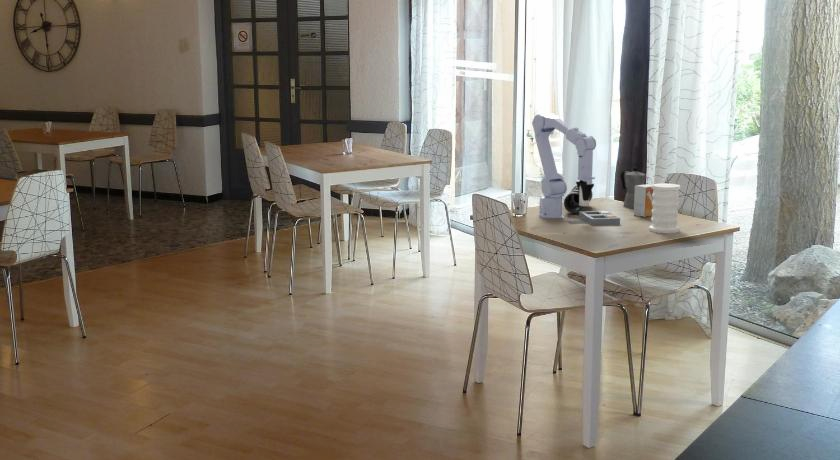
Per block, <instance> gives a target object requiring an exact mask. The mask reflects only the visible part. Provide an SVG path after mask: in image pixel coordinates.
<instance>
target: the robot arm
mask: <svg viewBox="0 0 840 460" xmlns="http://www.w3.org/2000/svg"><path fill="white" fill-rule="evenodd" d="M531 124H532V127H533V132H534V138H535V143H536V147H537V149H538V150H537V151H538V154H539V159H540V162H541V166H542V170H543V174H544V176H543V177H542V179H541V180H540V182H541V183H540V184H541V193H542V195H543V196H541V197H540V198H539V206H538V208H539V209H538V210H539V212H538V213H539V214H538V216H539V217H541V218H542V219H561V218H563V219H564V218H566V217H565V216H564V215H563V197H565V194H566V193H567V191H568V187H567V186H568V185H567V183H566V181H565V180H564V176H563V175H562V174H560V173H558V170H557V166H556V163H555V158H554V155H553V150H552V147H551V143H550V138H549V137H550V135H551V134H553V132H554V131H555V130H557V131H558V132H561V133H562V134H564V135H565V139H566V140H568V142H570V143H571V144H573V146H575V148H576V152H577V154H576V155H577V156H578V158H577V159H578V160H577V161H578V163H577V164H578V165H577V181H575V184H576V186H578V190H579V195H580V186H581V189H582V196H583V200H584V201H589V197H590V193H591V190H592V191H593V188H594V186H595V183H593V180H595V179H596V177H595V176H593V159H594V158H593V157H594V155H593V154H594V150H595V149H596V147H597V142H596V139H595V138H594V137H593V135H589V136H588V135H587V134H586V133H583V132H582V131H580V130H579V128H578V127H571V126H569V125H568V124H567V123H565V121H564V120H562V119H561V118H560V116H559V115H557V114H556V113H553V112H552V113H546V114H545V113H544V114H542V113H541V114H538V113H537V114H535V116H534V118H533V119H532V122H531Z"/></svg>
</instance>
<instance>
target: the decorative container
mask: <svg viewBox="0 0 840 460" xmlns="http://www.w3.org/2000/svg"><path fill="white" fill-rule="evenodd" d="M651 185H652V189H653V194H652V196H653V201H652V205H653V209H652V216H651V218H650V220H651V225H649V226H648V230H650V232H652V233H656V232H657V233H656V234H675V233H676V232H677V233H678V232H680V227H679V226H677V223H678V221H679V219H678V214H679V210H678V209H679V208H678V207H679V197H680V194H679V190H681V184H677V183H664V182H663V183H653V184H651Z"/></svg>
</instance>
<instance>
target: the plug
mask: <svg viewBox="0 0 840 460" xmlns="http://www.w3.org/2000/svg"><path fill="white" fill-rule="evenodd" d="M579 206H585V207H588V206H589V207H590V202H589V201H584V200H583V196H582V189H581V186H580V195H579Z"/></svg>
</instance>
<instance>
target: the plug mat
mask: <svg viewBox="0 0 840 460" xmlns="http://www.w3.org/2000/svg"><path fill="white" fill-rule="evenodd" d="M566 222H567V223H569V224H570V225H582V224H583V225H586V224H588V223H587V222H585V221H584V220H582V219H580V220H566Z"/></svg>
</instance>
